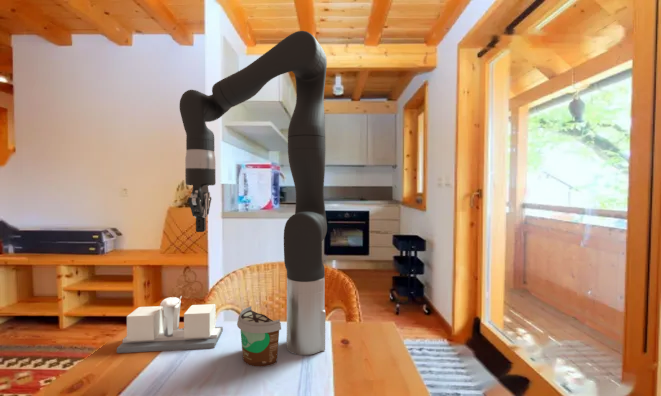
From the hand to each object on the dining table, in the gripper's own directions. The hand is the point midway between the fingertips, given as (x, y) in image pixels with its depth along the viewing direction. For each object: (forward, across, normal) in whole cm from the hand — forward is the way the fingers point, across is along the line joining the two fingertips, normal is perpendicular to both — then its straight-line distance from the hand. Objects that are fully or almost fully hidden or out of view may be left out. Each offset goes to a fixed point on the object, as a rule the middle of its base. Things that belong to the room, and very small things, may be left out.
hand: (200, 231), depth 84 cm
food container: (+27, -17, -16) cm, 36 cm away
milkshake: (+25, -7, +5) cm, 27 cm away
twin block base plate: (+27, -6, +5) cm, 28 cm away
